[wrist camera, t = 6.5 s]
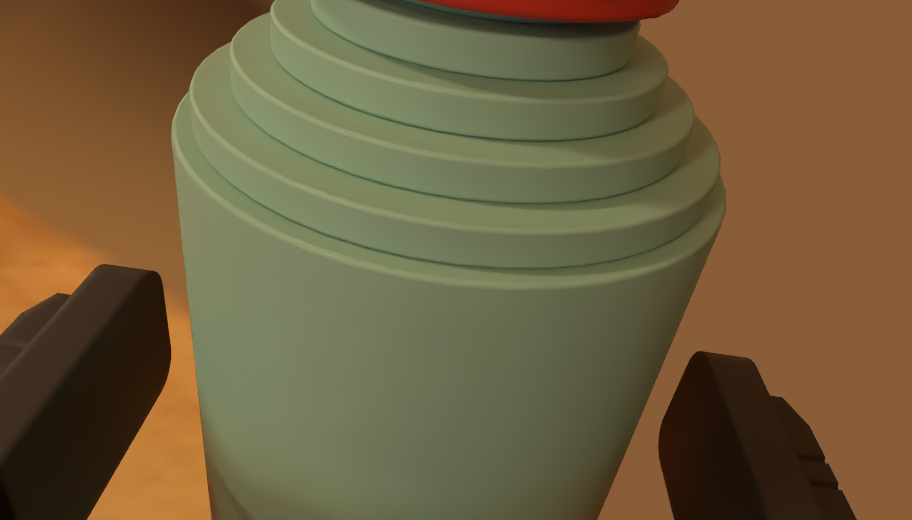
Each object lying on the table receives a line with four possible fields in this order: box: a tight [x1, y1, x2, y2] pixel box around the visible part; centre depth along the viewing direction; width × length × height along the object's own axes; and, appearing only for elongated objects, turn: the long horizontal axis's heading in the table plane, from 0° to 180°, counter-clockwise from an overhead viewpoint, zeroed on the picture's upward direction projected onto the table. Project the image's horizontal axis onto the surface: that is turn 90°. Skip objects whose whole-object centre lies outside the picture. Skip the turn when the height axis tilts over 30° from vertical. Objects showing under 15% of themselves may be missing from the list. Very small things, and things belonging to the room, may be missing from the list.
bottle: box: [171, 0, 726, 520], centre depth 10 cm, size 6×6×18 cm
